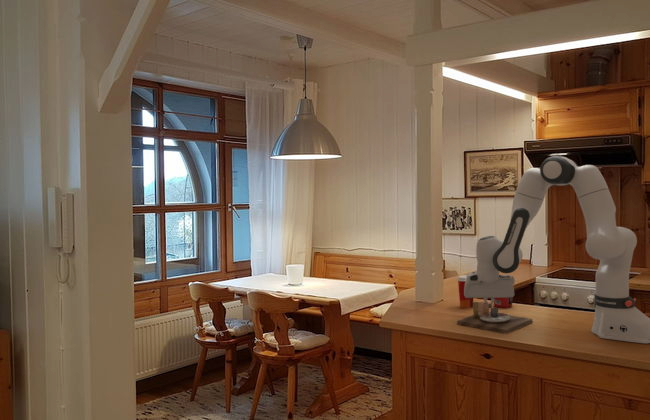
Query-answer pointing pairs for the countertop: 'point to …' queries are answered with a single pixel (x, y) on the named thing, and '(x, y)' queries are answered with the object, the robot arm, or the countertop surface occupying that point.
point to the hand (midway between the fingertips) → (489, 307)
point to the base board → (496, 327)
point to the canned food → (503, 302)
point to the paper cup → (463, 300)
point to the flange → (491, 314)
